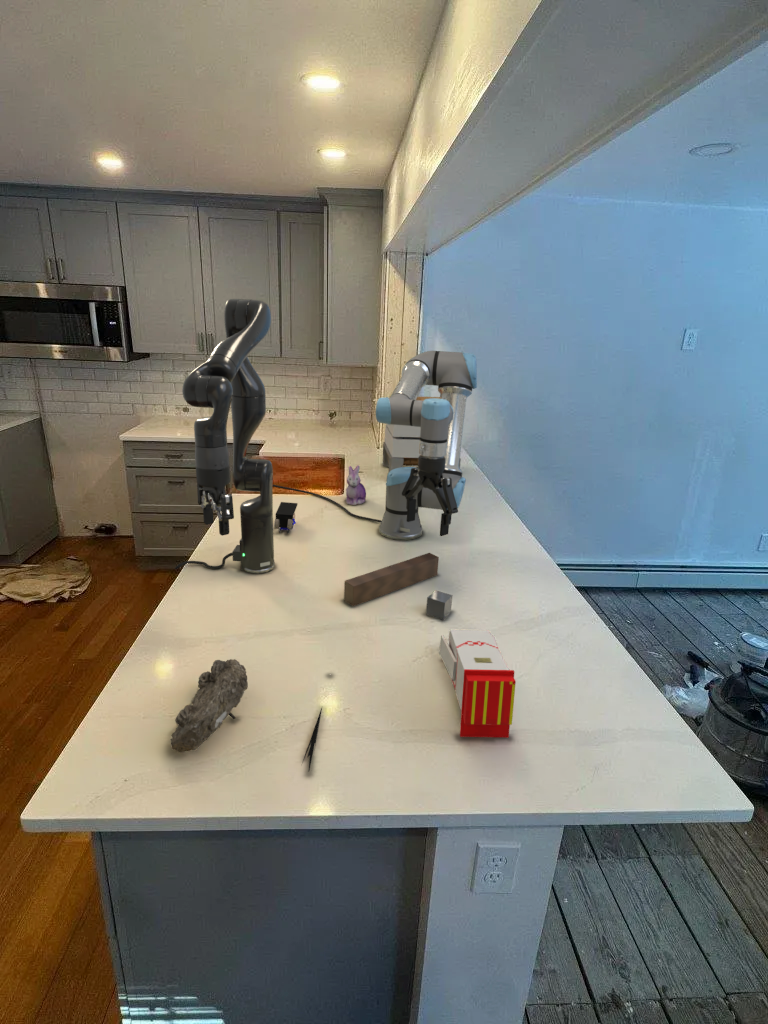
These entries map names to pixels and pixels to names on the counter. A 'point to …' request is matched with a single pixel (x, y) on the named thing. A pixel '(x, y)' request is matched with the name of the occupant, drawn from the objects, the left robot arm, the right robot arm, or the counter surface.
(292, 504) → the figurine character
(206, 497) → the left robot arm
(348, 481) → the figurine
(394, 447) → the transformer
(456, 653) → the toy
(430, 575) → the walnut bar
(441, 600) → the slate cube
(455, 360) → the right robot arm
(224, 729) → the counter surface
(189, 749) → the fossil
